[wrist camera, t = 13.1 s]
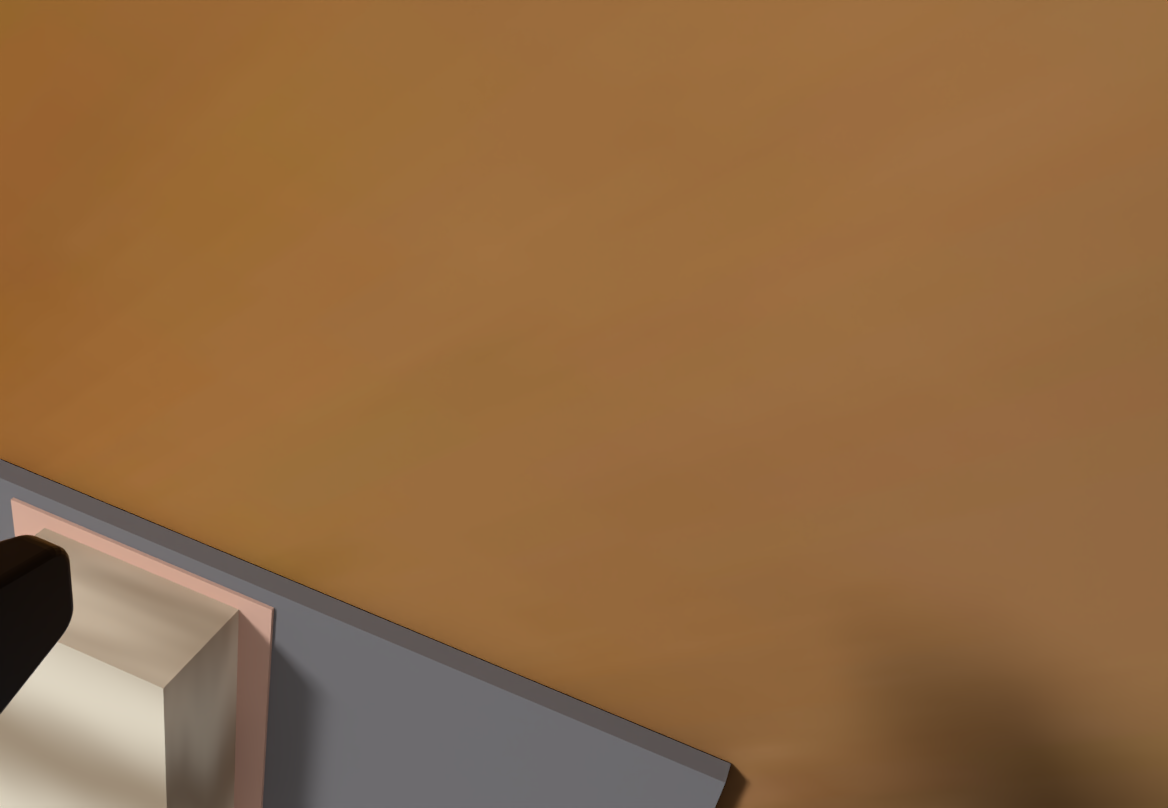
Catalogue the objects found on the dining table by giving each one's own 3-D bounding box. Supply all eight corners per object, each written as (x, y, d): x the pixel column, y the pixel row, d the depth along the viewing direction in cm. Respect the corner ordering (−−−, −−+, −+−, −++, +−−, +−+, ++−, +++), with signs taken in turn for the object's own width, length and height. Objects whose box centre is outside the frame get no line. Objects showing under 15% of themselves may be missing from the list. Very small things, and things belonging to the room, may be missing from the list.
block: (233, 843, 33) (170, 927, 30) (69, 767, 34) (-5, 842, 31) (239, 609, 28) (163, 688, 25) (44, 528, 29) (-47, 596, 26)
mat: (731, 763, 25) (724, 786, 25) (621, 1022, 32) (614, 1044, 31) (-2, 458, 29) (-23, 471, 28) (33, 745, 35) (17, 761, 35)
